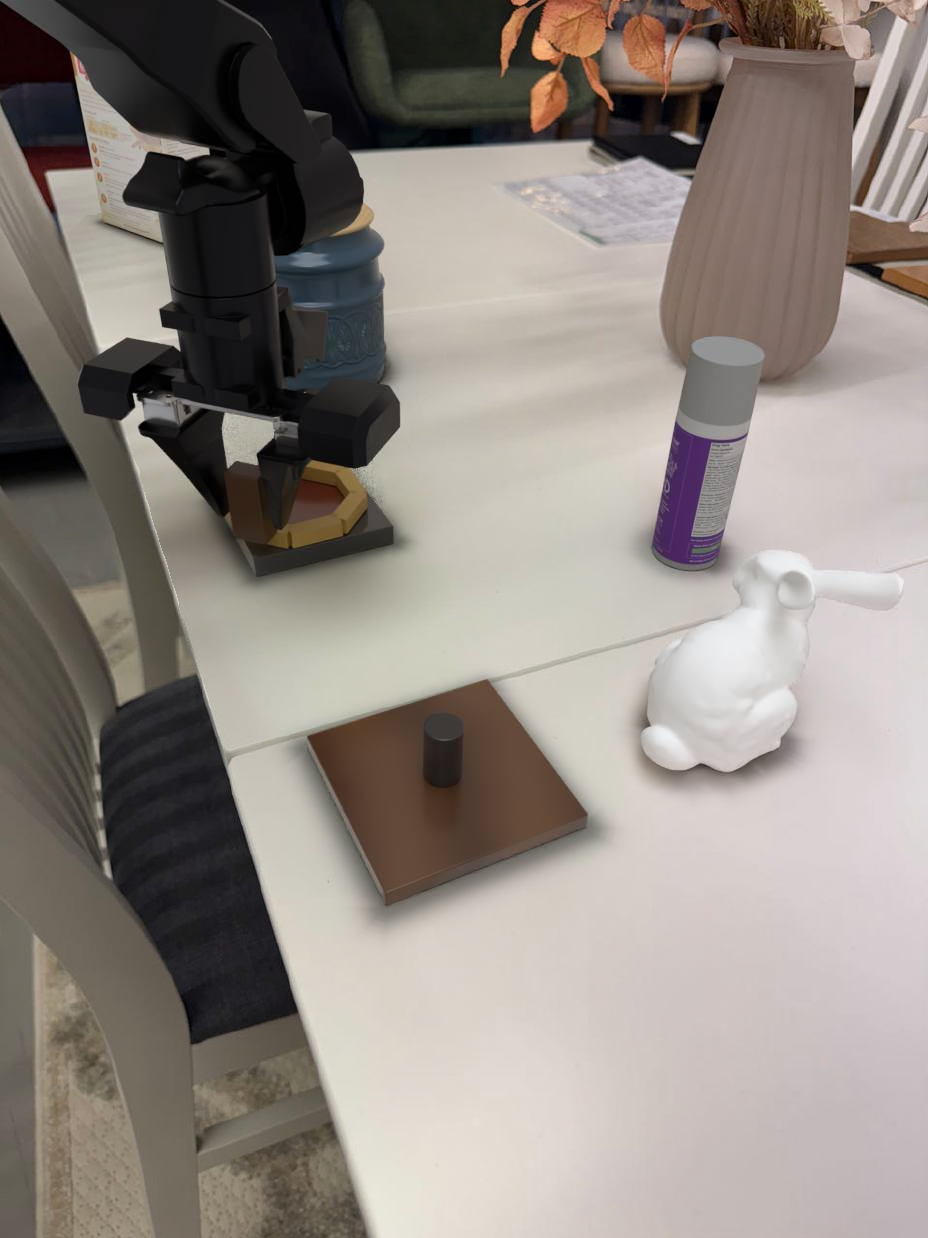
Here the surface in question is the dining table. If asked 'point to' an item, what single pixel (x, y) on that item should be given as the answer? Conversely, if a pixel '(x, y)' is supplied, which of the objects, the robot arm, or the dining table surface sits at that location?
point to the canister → (341, 301)
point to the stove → (312, 505)
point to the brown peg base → (442, 788)
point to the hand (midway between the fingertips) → (253, 520)
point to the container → (706, 450)
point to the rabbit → (747, 663)
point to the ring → (257, 525)
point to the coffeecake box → (121, 157)
